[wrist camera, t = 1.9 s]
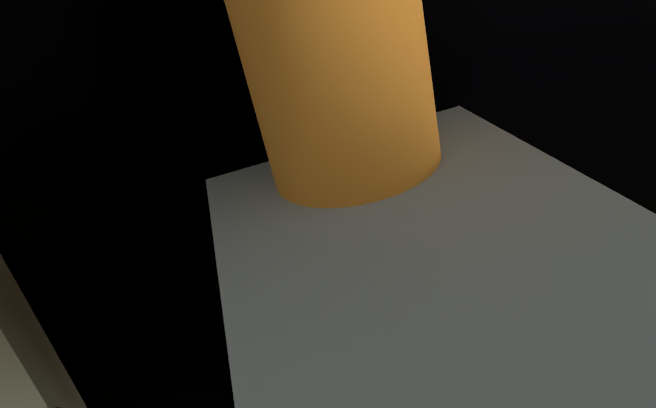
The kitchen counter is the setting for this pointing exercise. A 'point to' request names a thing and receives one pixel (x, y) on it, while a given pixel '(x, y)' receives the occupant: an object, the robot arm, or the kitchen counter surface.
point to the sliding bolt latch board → (29, 356)
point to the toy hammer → (414, 237)
